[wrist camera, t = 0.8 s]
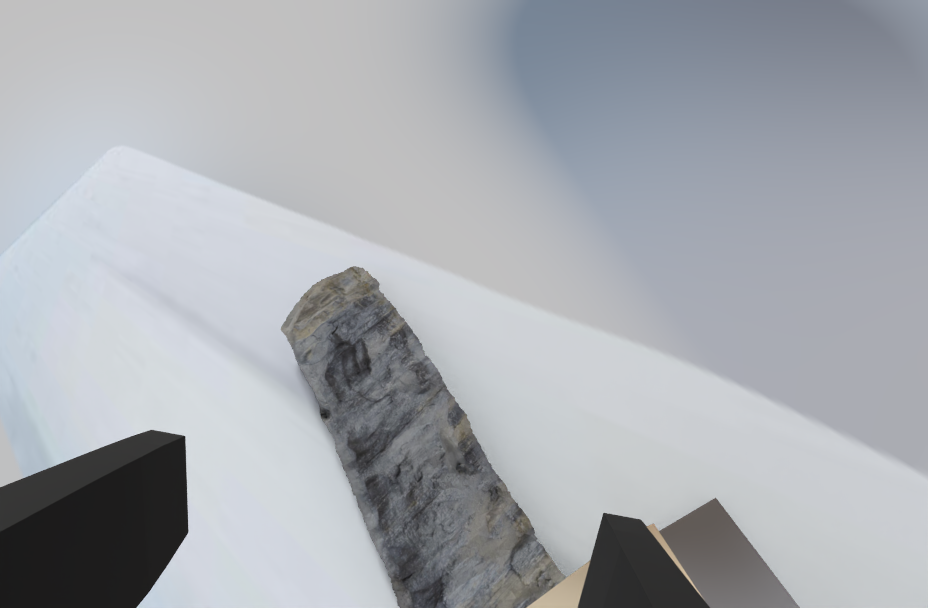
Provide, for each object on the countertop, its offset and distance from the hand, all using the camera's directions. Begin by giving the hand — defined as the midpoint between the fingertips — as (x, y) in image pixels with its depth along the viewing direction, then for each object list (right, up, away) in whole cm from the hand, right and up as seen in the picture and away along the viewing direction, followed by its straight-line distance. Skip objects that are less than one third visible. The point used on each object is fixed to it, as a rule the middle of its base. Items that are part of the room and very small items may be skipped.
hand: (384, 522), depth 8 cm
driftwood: (-2, -3, +16) cm, 16 cm away
